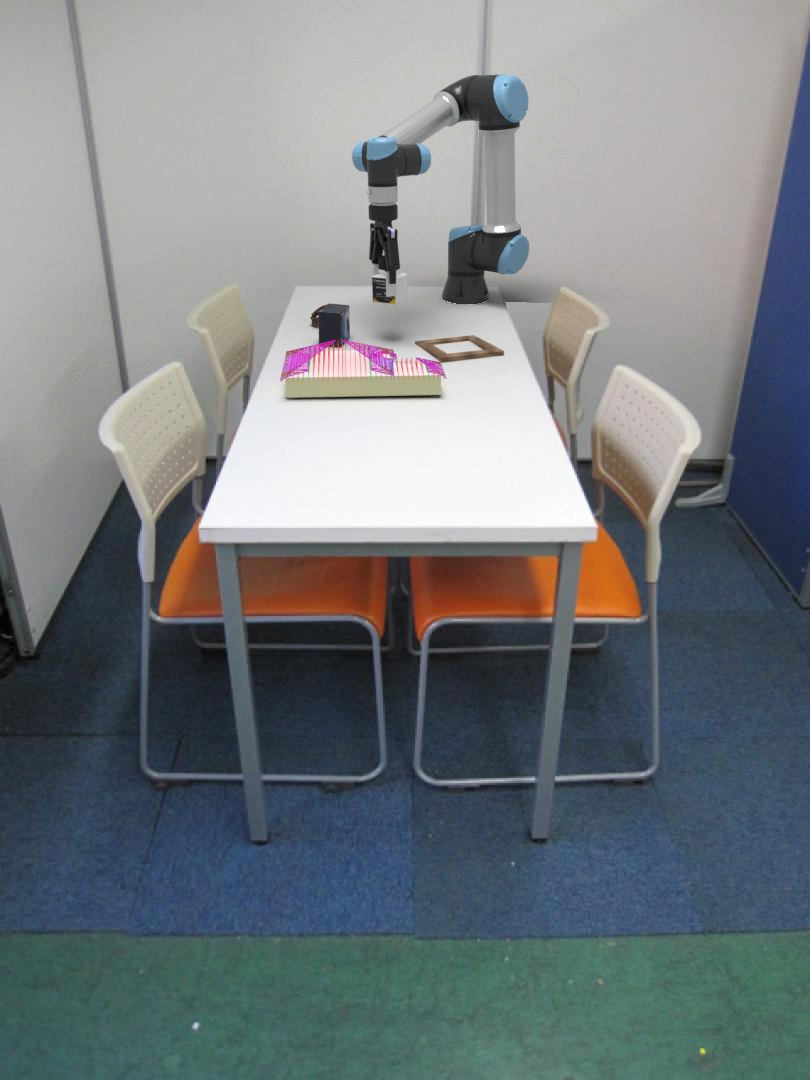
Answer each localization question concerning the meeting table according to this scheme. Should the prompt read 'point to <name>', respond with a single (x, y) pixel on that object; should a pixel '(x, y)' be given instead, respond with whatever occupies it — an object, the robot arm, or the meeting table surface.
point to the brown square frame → (443, 357)
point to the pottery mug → (314, 316)
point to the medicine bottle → (380, 285)
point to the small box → (334, 324)
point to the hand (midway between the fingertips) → (384, 292)
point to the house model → (357, 373)
